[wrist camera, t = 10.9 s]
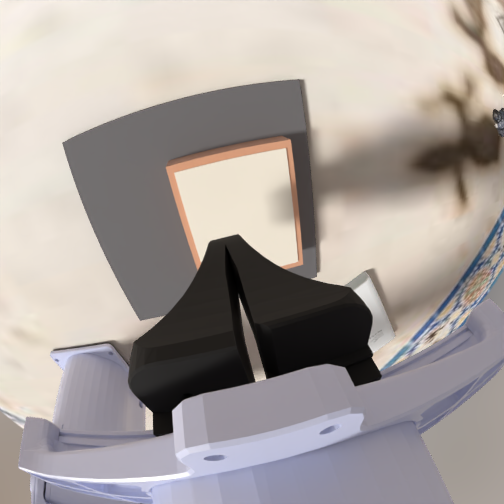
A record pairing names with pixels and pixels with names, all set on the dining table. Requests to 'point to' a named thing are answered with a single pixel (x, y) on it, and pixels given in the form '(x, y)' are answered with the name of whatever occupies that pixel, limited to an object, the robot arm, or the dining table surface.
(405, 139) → the dining table surface
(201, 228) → the terracotta tile
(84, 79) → the dining table surface
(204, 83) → the dining table surface
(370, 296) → the external hard drive
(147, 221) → the mat
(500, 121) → the blueberries
